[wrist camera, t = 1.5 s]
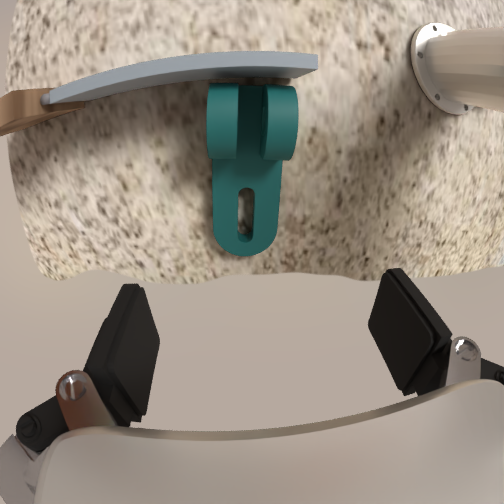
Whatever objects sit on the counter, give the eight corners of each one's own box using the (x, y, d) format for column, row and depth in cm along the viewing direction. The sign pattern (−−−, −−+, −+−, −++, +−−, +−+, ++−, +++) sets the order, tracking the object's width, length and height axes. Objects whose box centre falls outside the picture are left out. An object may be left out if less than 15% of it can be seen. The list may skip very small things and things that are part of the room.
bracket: (214, 87, 24) (207, 79, 17) (282, 89, 24) (300, 83, 17) (215, 246, 33) (210, 286, 26) (272, 246, 33) (282, 286, 26)
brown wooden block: (83, 87, 21) (12, 90, 11) (84, 107, 23) (13, 119, 12) (22, 111, 21) (-46, 129, 11) (24, 129, 22) (-43, 152, 12)
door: (295, 67, 22) (318, 54, 15) (295, 78, 23) (318, 69, 16) (82, 92, 21) (39, 94, 14) (83, 102, 22) (40, 107, 15)
